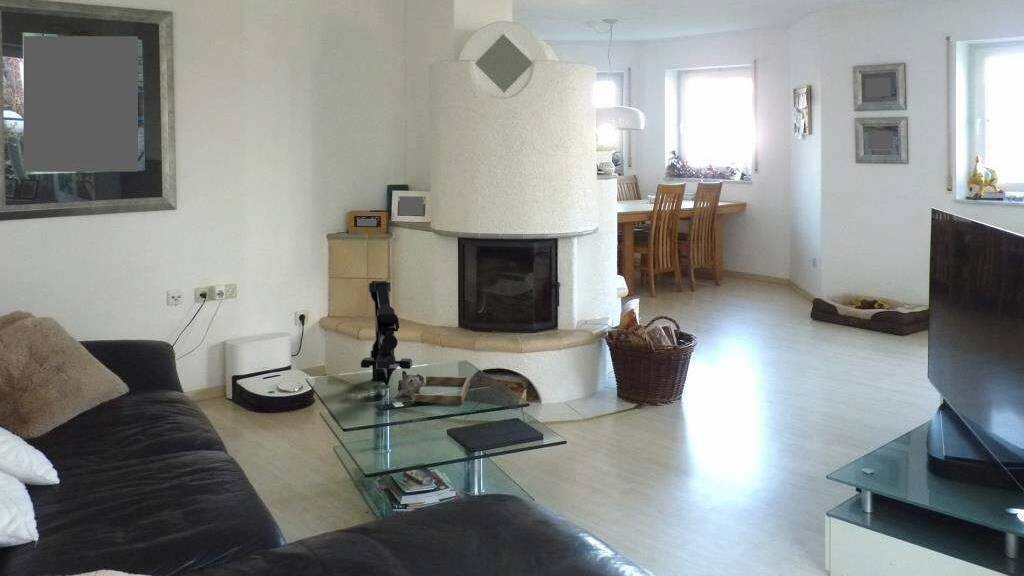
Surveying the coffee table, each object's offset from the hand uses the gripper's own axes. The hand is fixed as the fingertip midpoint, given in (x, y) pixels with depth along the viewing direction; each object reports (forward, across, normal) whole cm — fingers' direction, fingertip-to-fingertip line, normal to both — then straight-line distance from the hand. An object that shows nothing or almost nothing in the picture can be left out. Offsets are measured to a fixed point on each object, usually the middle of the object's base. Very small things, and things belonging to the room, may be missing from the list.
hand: (386, 385), depth 351 cm
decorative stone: (+3, +9, -2) cm, 10 cm away
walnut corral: (+2, +21, 0) cm, 21 cm away
